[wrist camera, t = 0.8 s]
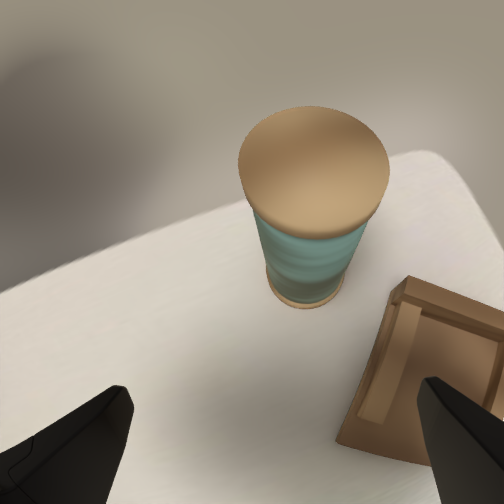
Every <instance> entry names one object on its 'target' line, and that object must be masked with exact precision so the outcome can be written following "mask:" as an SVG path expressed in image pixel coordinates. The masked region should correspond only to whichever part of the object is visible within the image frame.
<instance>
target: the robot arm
mask: <svg viewBox="0 0 504 504" xmlns="http://www.w3.org/2000/svg"><path fill="white" fill-rule="evenodd" d="M417 407H418V412H419V417H420V422H421V427H422V432H423V437H424V442H425V446H426V450H427V453H428V457H429V460H430V463H431V467H432V470H433V474H434V477H435V481H436V485H437V488H438V492H439V496H440V500H441V504H504V421H502V420H501V419H499V418H498V417H496V416H495V415H493V414H492V413H490V412H489V411H487V410H486V409H484V408H483V407H481V406H480V405H479V404H477V403H476V402H474V401H473V400H471V399H470V398H468V397H467V396H465V395H464V394H462V393H461V392H459V391H458V390H456V389H455V388H454V387H452V386H451V385H449V384H448V383H446V382H445V381H443V380H442V379H440V378H439V377H437V376H429V377H425V378H423V379H422V381H421V385H420V388H419V392H418V395H417ZM133 413H134V404H133V402H132V399H131V397H130V395H129V392H128V390H127V388H126V387H124V386H119V385H113V386H111V387H110V388H108V389H106V390H105V391H103V392H102V393H100V394H99V395H97V396H96V397H94V398H92V399H91V400H89V401H88V402H86V403H85V404H83V405H81V406H80V407H78V408H77V409H75V410H74V411H72V412H70V413H69V414H67V415H66V416H64V417H62V418H61V419H59V420H57V421H56V422H54V423H53V424H51V425H49V426H48V427H46V428H44V429H43V430H41V431H40V432H38V433H36V434H35V435H34V436H31V437H30V438H28V439H26V440H25V441H23V442H21V443H19V444H18V445H16V446H14V447H12V448H10V449H8V450H6V451H4V452H2V453H0V504H106V502H107V499H108V496H109V493H110V490H111V487H112V484H113V481H114V478H115V475H116V472H117V470H118V467H119V464H120V461H121V458H122V456H123V453H124V450H125V446H126V442H127V438H128V433H129V429H130V425H131V421H132V417H133Z"/></svg>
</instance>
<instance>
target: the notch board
mask: <svg viewBox="0 0 504 504" xmlns="http://www.w3.org/2000/svg"><path fill="white" fill-rule="evenodd" d="M429 376H437V377H439V378H440V379H442V380H443V381H445V382H446V383H448V384H449V385H451V386H452V387H454V388H455V389H456V390H458V391H459V392H461V393H462V394H464V395H465V396H467V397H468V398H470V399H471V400H473V401H474V402H476V403H477V404H479V405H480V406H481V407H483V408H484V409H486V410H487V411H489V412H490V413H492V414H493V415H495V416H496V417H498V418H499V419H501V420H502V421H503V418H504V312H503V311H500V310H498V309H495V308H493V307H490V306H488V305H485V304H483V303H480V302H478V301H475V300H473V299H470V298H467V297H465V296H462V295H460V294H457V293H455V292H452V291H449V290H447V289H444V288H442V287H439V286H436V285H434V284H431V283H428V282H426V281H423V280H420V279H418V278H415V277H412V276H410V275H408V276H407V277H406V278H405V279H404V280H403V281H402V282H401V283H400V284H399V285H398V286H397V287H396V288H394V289H393V290H392V291H391V293H390V297H389V300H388V303H387V307H386V310H385V313H384V317H383V320H382V323H381V326H380V329H379V332H378V335H377V338H376V341H375V344H374V347H373V350H372V353H371V355H370V358H369V361H368V364H367V366H366V369H365V372H364V374H363V377H362V380H361V382H360V385H359V387H358V390H357V392H356V395H355V397H354V400H353V402H352V404H351V407H350V409H349V411H348V414H347V416H346V418H345V421H344V423H343V425H342V427H341V429H340V432H339V434H338V436H337V438H336V440H335V441H336V442H337V444H341V445H344V446H347V447H351V448H354V449H358V450H361V451H365V452H369V453H372V454H376V455H380V456H384V457H388V458H392V459H397V460H401V461H406V462H410V463H415V464H420V465H425V466H431V463H430V460H429V457H428V453H427V450H426V446H425V442H424V437H423V432H422V427H421V422H420V417H419V412H418V407H417V395H418V392H419V388H420V385H421V381H422V379H423V378H425V377H429Z"/></svg>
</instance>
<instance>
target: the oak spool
mask: <svg viewBox="0 0 504 504" xmlns="http://www.w3.org/2000/svg"><path fill="white" fill-rule="evenodd" d="M238 168H239V175H240V179H241V182H242V186H243V190H244V192H245V196H246V198H247V200H248V202H249V204H250V206H251V207H252V209H253V213H254V217H255V221H256V225H257V229H258V233H259V237H260V241H261V245H262V249H263V253H264V257H265V261H266V273H267V278H268V282H269V285H270V287H271V289H272V291H273V292H274V294H275V295H276V296H277V297H278V298H279V299H280V300H281V301H282V302H284V303H285V304H287V305H289V306H291V307H294V308H299V309H312V308H317V307H320V306H322V305H324V304H326V303H327V302H329V301H330V300H331V299H332V298H333V297H334V296H335V295H336V293H337V292H338V290H339V288H340V286H341V284H342V282H343V279H344V275H345V271H346V269H347V267H348V265H349V263H350V260H351V258H352V256H353V254H354V252H355V249H356V247H357V245H358V243H359V241H360V238H361V236H362V234H363V232H364V229H365V227H366V225H367V222H368V220H369V219H370V218H371V217H372V215H373V214H374V213H375V211H376V210H377V208H378V206H379V204H380V202H381V200H382V197H383V195H384V193H385V190H386V188H387V185H388V181H389V175H390V167H389V160H388V157H387V154H386V151H385V149H384V147H383V145H382V143H381V141H380V140H379V139H378V137H377V136H376V135H375V134H374V132H373V131H372V130H371V129H369V128H368V127H367V126H366V125H365V124H363V123H362V122H361V121H359V120H357V119H356V118H354V117H352V116H350V115H348V114H346V113H343V112H340V111H338V110H333V109H330V108H324V107H315V106H305V107H296V108H291V109H286V110H283V111H280V112H277V113H275V114H273V115H271V116H269V117H267V118H266V119H264V120H262V121H261V122H260V123H258V124H257V125H256V126H255V127H254V128H253V129H252V130H251V131H250V132H249V134H248V135H247V137H246V138H245V140H244V142H243V144H242V146H241V149H240V152H239V158H238Z"/></svg>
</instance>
